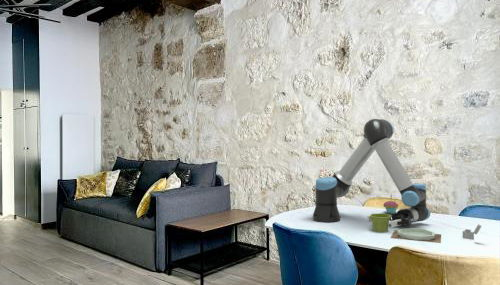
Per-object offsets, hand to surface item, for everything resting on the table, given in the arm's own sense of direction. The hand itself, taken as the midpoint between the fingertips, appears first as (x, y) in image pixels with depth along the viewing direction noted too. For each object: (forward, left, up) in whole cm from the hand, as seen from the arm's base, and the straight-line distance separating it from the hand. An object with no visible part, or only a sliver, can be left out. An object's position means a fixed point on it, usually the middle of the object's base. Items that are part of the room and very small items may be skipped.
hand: (379, 221), depth 183 cm
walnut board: (+16, -4, -6) cm, 18 cm away
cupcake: (-2, +56, -6) cm, 57 cm away
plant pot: (0, +1, -6) cm, 6 cm away
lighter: (+38, +1, -6) cm, 39 cm away
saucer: (+16, -4, -4) cm, 17 cm away
